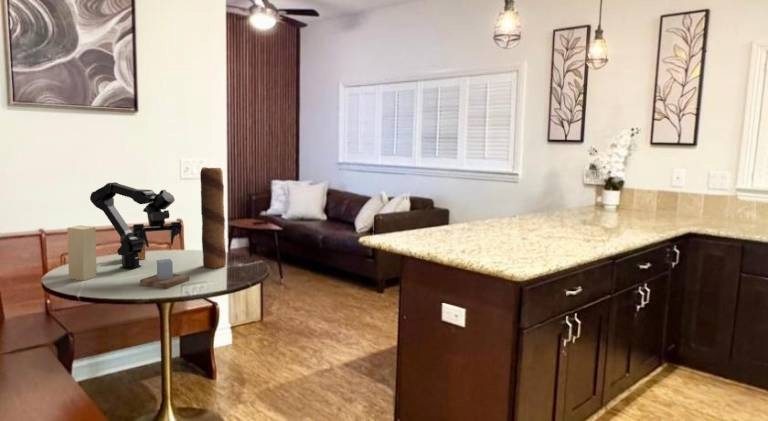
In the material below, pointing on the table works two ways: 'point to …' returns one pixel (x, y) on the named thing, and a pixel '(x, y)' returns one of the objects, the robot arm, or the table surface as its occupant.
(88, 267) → the tall beige block
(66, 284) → the table surface
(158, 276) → the blue-grey block
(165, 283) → the walnut block
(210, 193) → the wafer roll
